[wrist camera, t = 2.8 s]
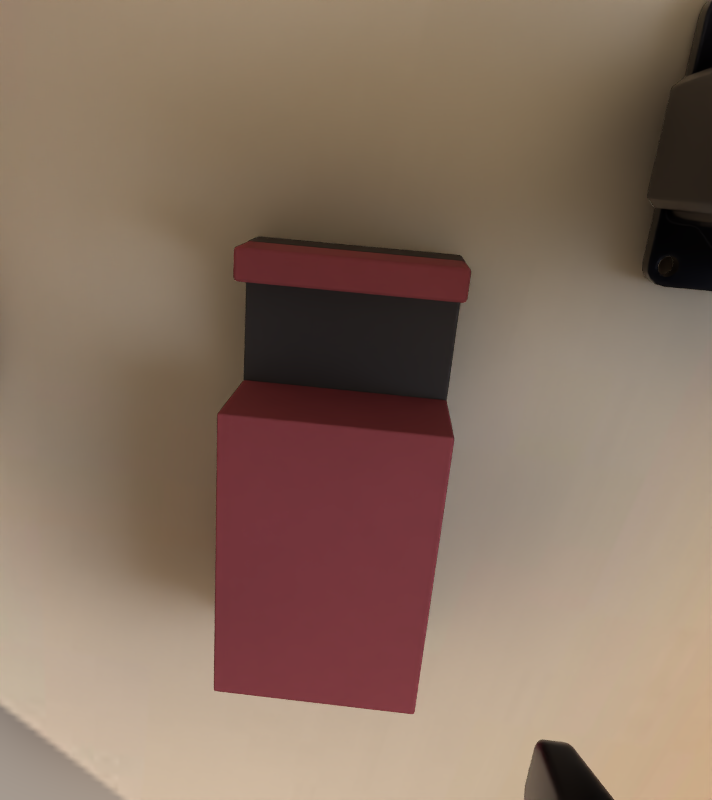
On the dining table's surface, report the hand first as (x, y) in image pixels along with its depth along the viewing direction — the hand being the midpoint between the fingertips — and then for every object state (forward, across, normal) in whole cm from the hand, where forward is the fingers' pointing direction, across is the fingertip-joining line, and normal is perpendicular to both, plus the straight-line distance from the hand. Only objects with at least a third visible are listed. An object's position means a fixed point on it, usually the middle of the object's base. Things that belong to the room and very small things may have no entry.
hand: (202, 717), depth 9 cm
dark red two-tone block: (+11, -1, +1) cm, 11 cm away
